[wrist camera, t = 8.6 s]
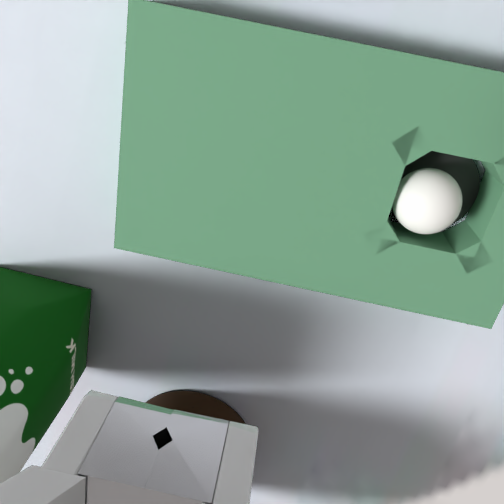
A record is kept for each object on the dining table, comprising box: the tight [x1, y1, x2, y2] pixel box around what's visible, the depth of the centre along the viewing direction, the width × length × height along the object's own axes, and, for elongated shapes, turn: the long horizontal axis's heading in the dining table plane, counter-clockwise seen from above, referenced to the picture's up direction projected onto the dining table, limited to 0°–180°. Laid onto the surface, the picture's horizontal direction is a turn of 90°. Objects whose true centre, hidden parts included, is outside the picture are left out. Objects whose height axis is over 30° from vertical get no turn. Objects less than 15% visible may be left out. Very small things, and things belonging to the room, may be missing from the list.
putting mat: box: [114, 0, 504, 329], centre depth 26 cm, size 22×13×3 cm, turn 80°
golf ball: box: [392, 168, 462, 234], centre depth 26 cm, size 4×4×4 cm
